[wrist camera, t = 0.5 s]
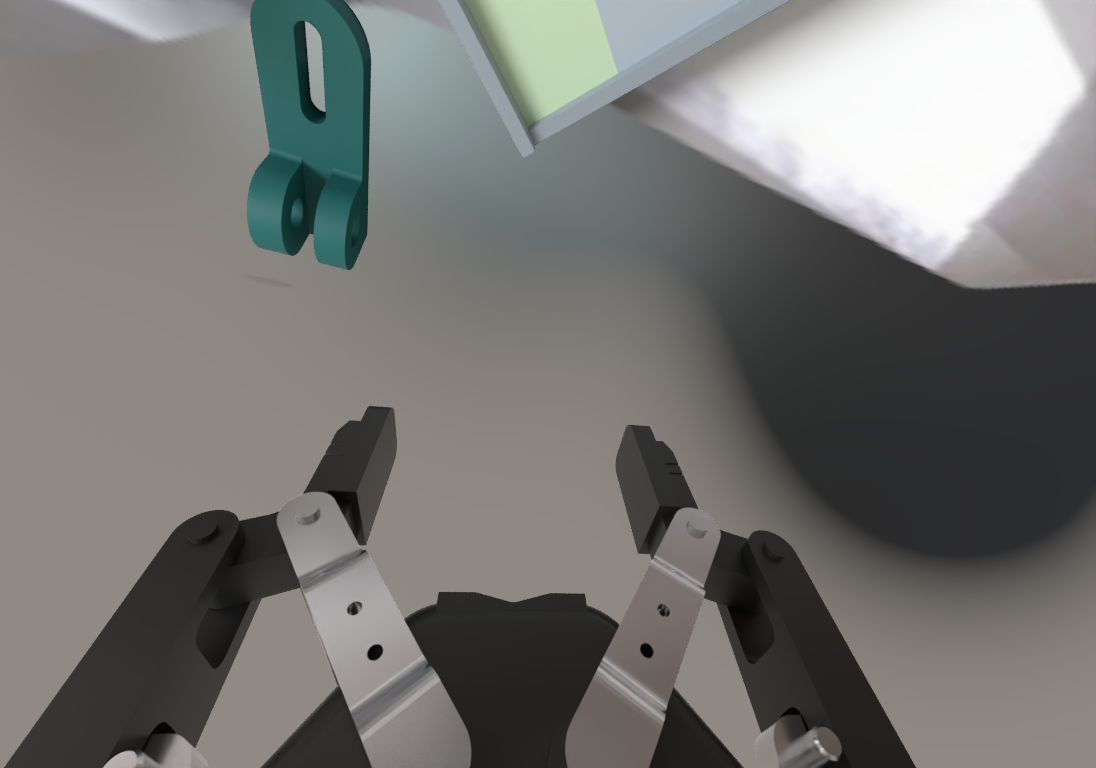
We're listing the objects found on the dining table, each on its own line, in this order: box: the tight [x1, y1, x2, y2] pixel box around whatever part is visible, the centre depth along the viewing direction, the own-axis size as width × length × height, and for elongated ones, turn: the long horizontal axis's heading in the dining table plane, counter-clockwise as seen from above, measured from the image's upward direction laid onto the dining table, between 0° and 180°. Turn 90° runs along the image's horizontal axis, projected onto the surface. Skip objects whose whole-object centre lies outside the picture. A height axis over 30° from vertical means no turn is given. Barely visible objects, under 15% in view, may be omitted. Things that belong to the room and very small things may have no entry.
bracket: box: [247, 0, 371, 270], centre depth 30 cm, size 18×7×8 cm, turn 160°
